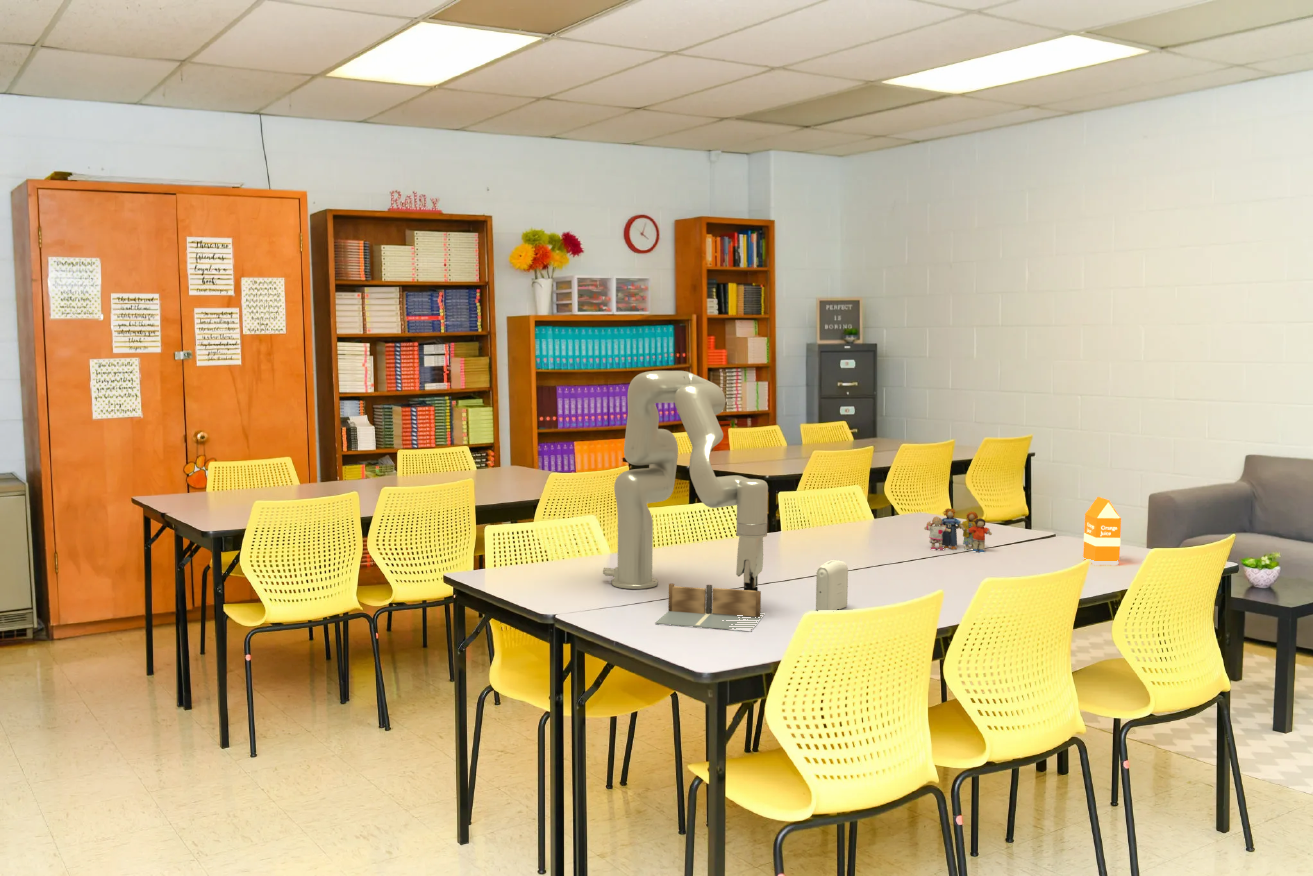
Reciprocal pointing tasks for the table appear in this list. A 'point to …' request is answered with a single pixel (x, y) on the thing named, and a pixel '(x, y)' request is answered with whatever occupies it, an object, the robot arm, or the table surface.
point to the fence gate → (736, 602)
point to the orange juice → (1102, 532)
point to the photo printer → (832, 585)
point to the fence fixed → (690, 599)
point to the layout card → (705, 620)
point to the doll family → (948, 534)
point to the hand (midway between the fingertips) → (750, 602)
